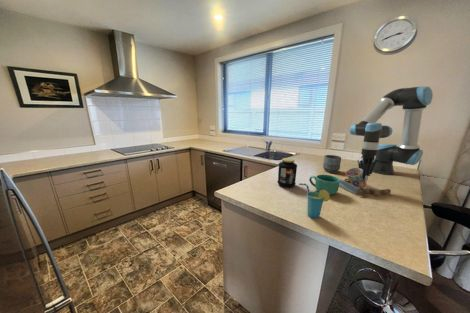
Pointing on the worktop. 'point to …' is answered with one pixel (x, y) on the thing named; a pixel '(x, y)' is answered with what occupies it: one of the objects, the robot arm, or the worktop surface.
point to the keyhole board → (363, 192)
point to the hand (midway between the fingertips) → (363, 184)
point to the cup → (315, 202)
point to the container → (287, 172)
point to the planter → (331, 163)
